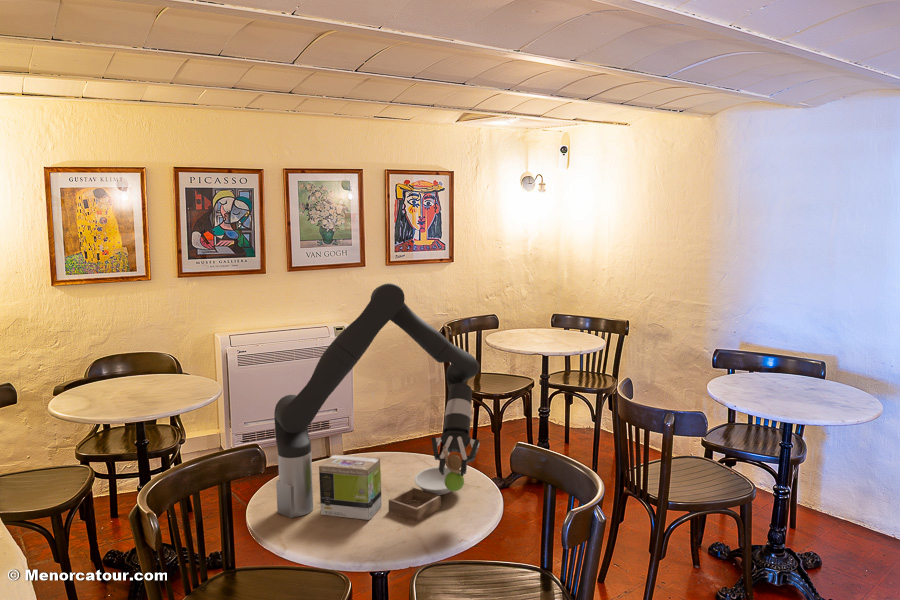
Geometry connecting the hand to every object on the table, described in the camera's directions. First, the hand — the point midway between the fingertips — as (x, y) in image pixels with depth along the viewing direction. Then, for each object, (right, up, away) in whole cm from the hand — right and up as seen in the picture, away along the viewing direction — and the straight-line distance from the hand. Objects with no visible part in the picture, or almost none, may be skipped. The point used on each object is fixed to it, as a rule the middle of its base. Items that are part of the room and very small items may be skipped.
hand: (452, 474), depth 173 cm
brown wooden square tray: (-11, -13, +9) cm, 19 cm away
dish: (-4, -12, +20) cm, 24 cm away
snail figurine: (0, -5, +3) cm, 6 cm away
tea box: (-29, -13, +9) cm, 33 cm away
